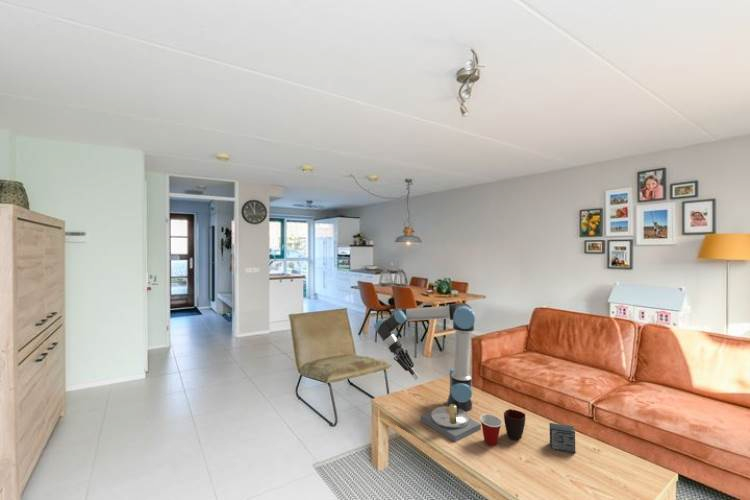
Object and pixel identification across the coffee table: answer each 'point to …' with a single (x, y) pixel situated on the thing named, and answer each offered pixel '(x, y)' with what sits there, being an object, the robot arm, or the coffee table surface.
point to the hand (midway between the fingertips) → (417, 378)
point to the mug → (514, 423)
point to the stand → (452, 433)
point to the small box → (562, 437)
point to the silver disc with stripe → (450, 417)
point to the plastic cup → (490, 428)
